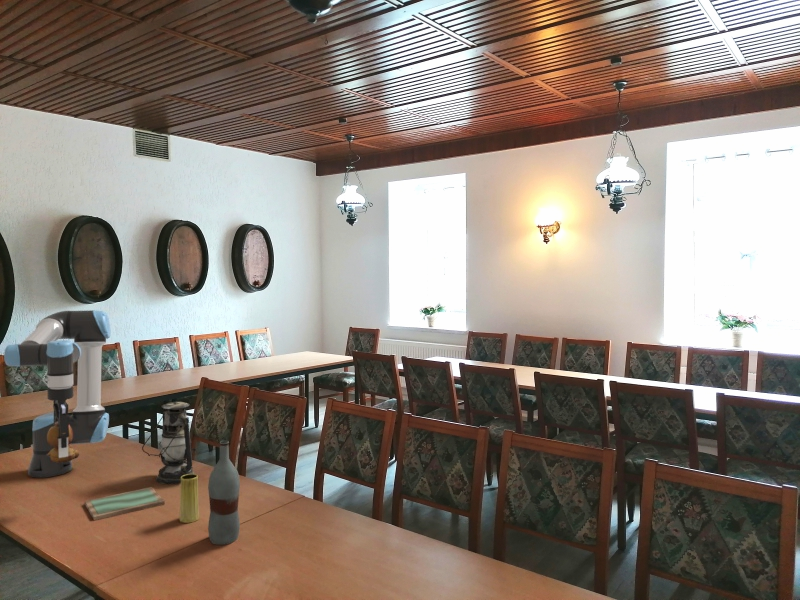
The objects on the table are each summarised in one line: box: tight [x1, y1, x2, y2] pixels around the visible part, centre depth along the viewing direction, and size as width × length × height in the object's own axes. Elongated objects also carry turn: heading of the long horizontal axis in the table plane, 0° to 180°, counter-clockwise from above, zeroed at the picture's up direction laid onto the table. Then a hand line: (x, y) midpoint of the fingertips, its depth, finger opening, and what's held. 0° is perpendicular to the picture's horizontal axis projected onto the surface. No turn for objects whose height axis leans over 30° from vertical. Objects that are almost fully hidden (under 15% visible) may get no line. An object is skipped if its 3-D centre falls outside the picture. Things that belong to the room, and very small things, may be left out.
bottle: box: [207, 440, 241, 546], centre depth 174 cm, size 9×9×30 cm
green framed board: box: [84, 486, 166, 521], centre depth 199 cm, size 16×22×1 cm
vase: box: [179, 473, 200, 524], centre depth 187 cm, size 6×6×14 cm
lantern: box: [141, 401, 197, 485], centre depth 222 cm, size 19×19×30 cm
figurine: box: [47, 422, 80, 463], centre depth 192 cm, size 10×8×15 cm
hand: (61, 453), depth 193 cm, fingers closed on figurine, 9 cm apart
